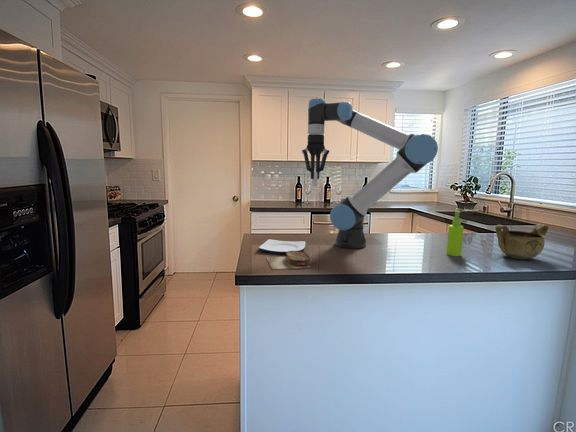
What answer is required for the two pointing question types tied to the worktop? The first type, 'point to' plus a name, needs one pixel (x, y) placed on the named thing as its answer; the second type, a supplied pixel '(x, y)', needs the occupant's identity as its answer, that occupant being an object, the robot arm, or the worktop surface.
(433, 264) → the worktop surface
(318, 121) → the robot arm
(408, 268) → the worktop surface
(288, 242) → the plate
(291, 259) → the bread slice
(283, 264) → the cork mat
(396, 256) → the worktop surface
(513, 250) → the ceramic bowl
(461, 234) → the green bottle
